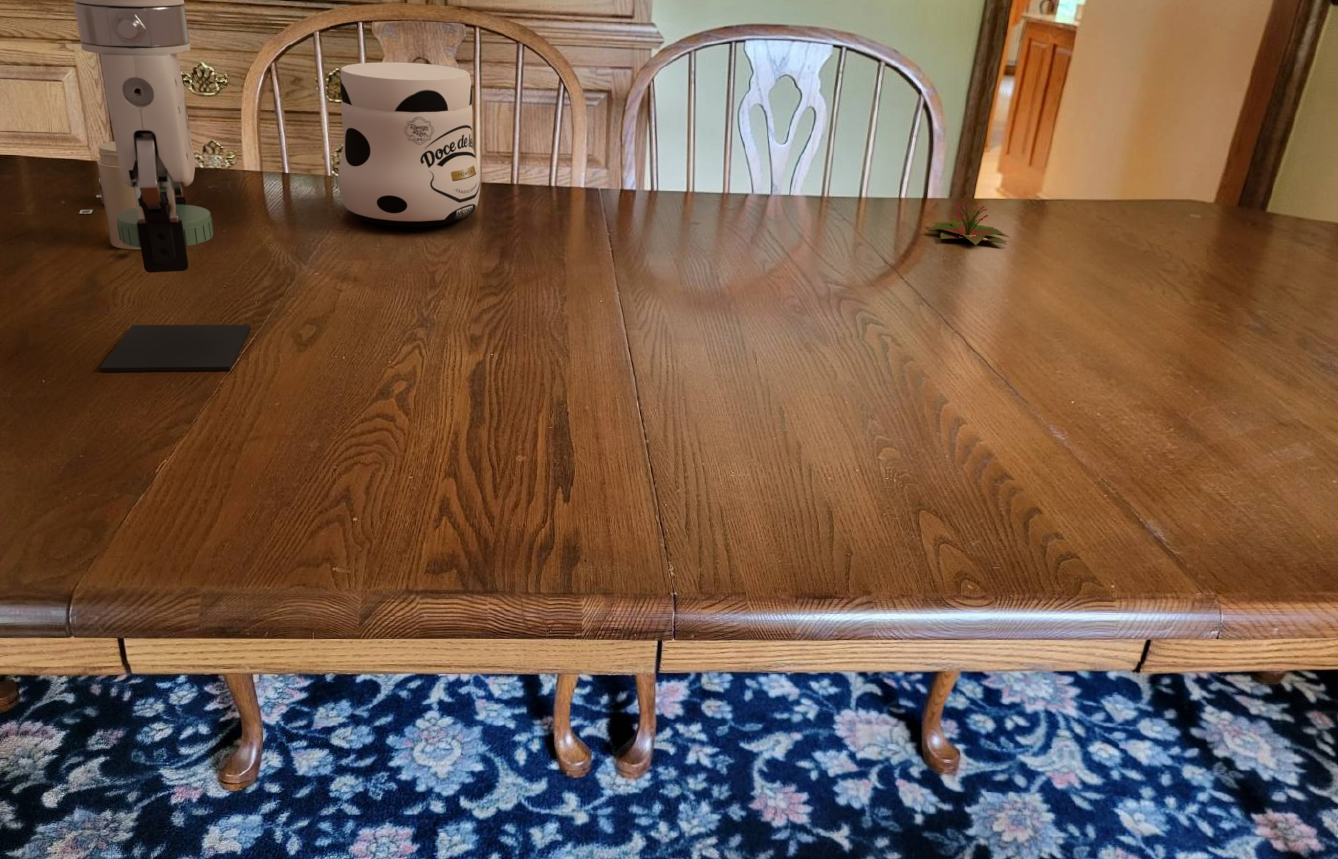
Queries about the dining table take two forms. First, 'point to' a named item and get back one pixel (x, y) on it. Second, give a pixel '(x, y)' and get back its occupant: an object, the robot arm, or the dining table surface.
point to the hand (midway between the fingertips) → (169, 255)
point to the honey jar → (114, 191)
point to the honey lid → (192, 217)
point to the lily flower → (968, 228)
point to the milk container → (407, 144)
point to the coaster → (177, 348)
